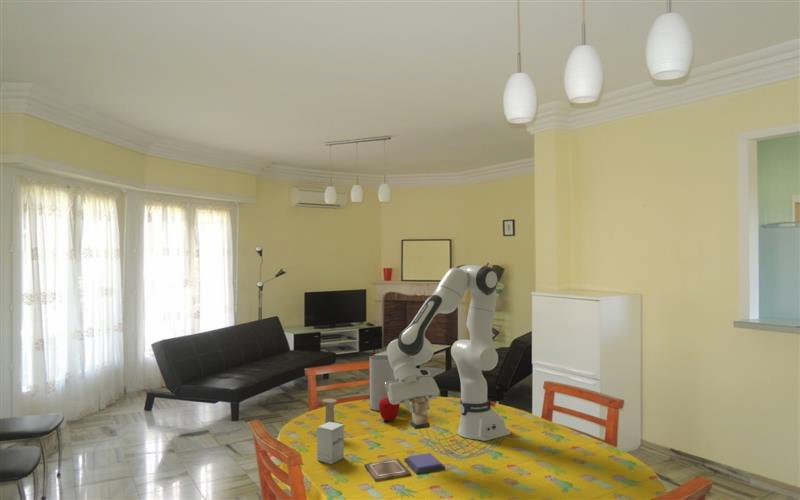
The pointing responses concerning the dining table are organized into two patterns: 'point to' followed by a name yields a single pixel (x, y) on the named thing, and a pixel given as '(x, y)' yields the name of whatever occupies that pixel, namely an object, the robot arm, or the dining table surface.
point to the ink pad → (424, 463)
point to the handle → (329, 409)
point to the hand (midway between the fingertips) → (420, 410)
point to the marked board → (387, 469)
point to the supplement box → (330, 442)
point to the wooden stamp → (419, 414)
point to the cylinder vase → (379, 379)
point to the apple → (388, 409)
